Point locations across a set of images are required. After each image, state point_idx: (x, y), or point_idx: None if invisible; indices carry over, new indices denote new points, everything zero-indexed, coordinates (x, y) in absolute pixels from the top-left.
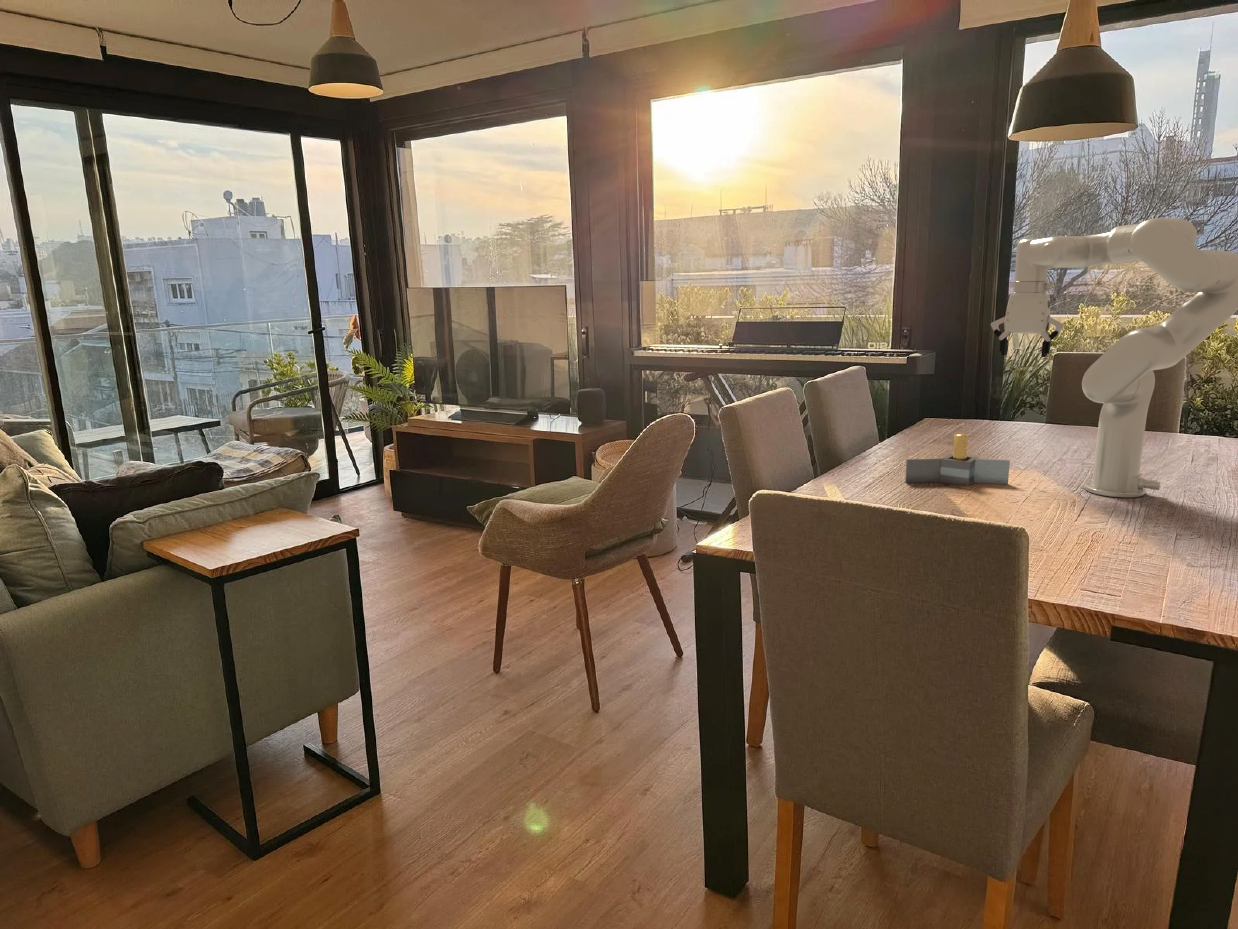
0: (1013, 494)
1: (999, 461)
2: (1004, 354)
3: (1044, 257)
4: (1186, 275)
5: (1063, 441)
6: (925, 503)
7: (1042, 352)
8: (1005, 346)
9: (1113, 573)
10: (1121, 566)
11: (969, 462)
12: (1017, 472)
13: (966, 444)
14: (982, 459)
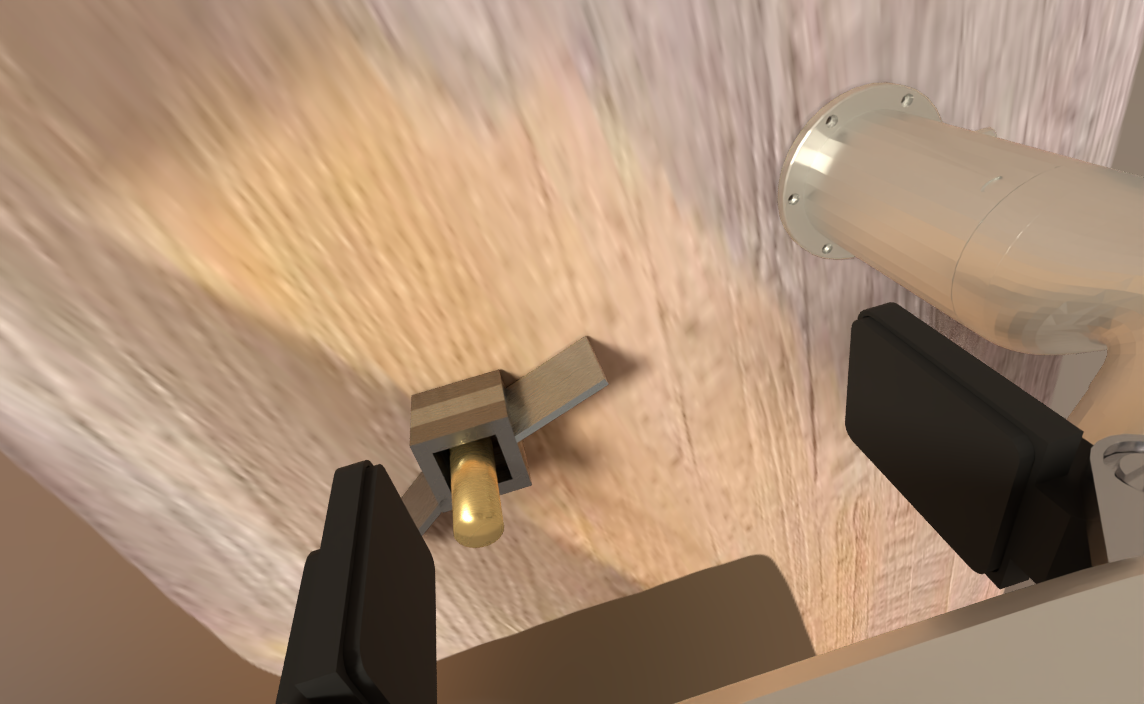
0: (645, 408)
1: (580, 399)
2: (429, 558)
3: None
4: None
5: None
6: (542, 589)
7: (888, 467)
8: (423, 646)
9: (894, 609)
10: (902, 587)
11: (530, 485)
12: (519, 148)
13: (500, 502)
14: (535, 430)
